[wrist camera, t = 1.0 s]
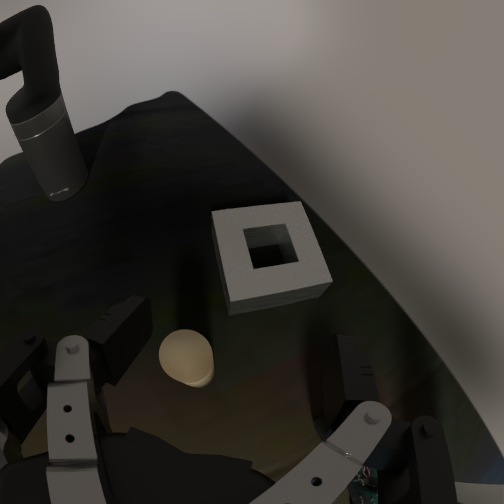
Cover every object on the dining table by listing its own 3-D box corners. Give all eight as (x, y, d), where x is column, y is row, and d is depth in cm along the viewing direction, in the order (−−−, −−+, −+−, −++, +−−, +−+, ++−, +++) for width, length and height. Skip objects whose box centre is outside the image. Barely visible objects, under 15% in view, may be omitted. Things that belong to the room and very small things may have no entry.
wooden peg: (177, 356, 30) (155, 333, 19) (210, 351, 31) (206, 325, 20) (183, 389, 28) (163, 384, 18) (218, 384, 29) (217, 376, 18)
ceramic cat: (387, 507, 21) (494, 538, 3) (347, 532, 19) (440, 588, 2) (340, 398, 29) (463, 378, 12) (293, 422, 27) (393, 441, 10)
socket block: (211, 233, 39) (211, 211, 34) (292, 222, 41) (300, 201, 37) (228, 315, 33) (230, 301, 29) (318, 296, 36) (332, 281, 31)
